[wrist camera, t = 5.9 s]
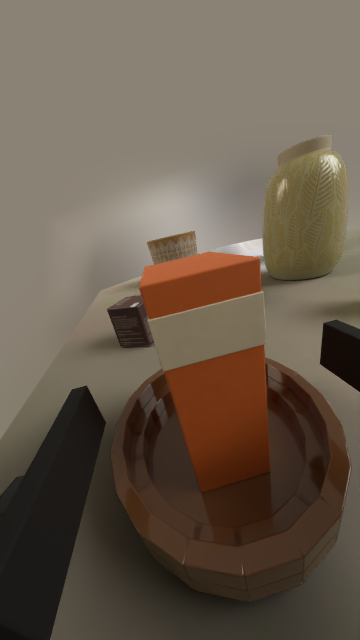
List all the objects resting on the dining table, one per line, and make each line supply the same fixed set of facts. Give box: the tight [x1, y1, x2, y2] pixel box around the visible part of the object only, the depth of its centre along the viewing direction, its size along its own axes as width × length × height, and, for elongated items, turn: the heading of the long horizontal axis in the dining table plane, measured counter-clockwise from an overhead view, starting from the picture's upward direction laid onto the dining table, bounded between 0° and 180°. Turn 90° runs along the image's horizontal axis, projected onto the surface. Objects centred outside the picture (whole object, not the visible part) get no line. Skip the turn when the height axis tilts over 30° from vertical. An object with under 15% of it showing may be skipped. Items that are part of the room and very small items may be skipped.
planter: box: [147, 231, 197, 265], centre depth 79 cm, size 19×19×16 cm
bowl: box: [111, 358, 352, 602], centre depth 14 cm, size 15×15×4 cm
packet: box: [139, 252, 270, 492], centre depth 12 cm, size 5×7×13 cm
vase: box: [263, 135, 348, 280], centre depth 46 cm, size 17×17×27 cm
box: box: [107, 295, 154, 347], centre depth 34 cm, size 6×6×7 cm
